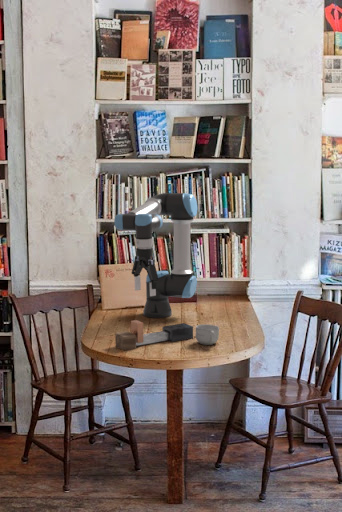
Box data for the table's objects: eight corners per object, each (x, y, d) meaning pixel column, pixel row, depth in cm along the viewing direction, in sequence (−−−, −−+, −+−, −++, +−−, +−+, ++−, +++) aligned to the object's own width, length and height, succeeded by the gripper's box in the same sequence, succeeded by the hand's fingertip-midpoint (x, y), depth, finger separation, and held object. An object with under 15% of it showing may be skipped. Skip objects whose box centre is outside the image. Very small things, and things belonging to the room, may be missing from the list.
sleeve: (162, 338, 348) (162, 326, 347) (183, 334, 354) (183, 323, 354) (171, 342, 342) (171, 330, 341) (192, 338, 348) (192, 326, 347)
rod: (122, 345, 335) (122, 322, 334) (174, 335, 350) (174, 314, 349) (129, 348, 330) (128, 325, 329) (181, 338, 345) (181, 316, 344)
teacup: (194, 340, 344) (194, 323, 343) (217, 339, 345) (217, 323, 344) (197, 348, 331) (198, 331, 329) (222, 348, 332) (222, 330, 330)
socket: (115, 346, 335) (115, 333, 334) (127, 344, 338) (126, 331, 337) (124, 350, 328) (124, 337, 327) (135, 348, 331) (135, 335, 330)
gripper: (123, 244, 345) (124, 288, 349) (151, 252, 325) (152, 299, 329) (137, 242, 349) (138, 286, 353) (165, 250, 329) (166, 297, 333)
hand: (145, 292), depth 341 cm, fingers open, 13 cm apart
